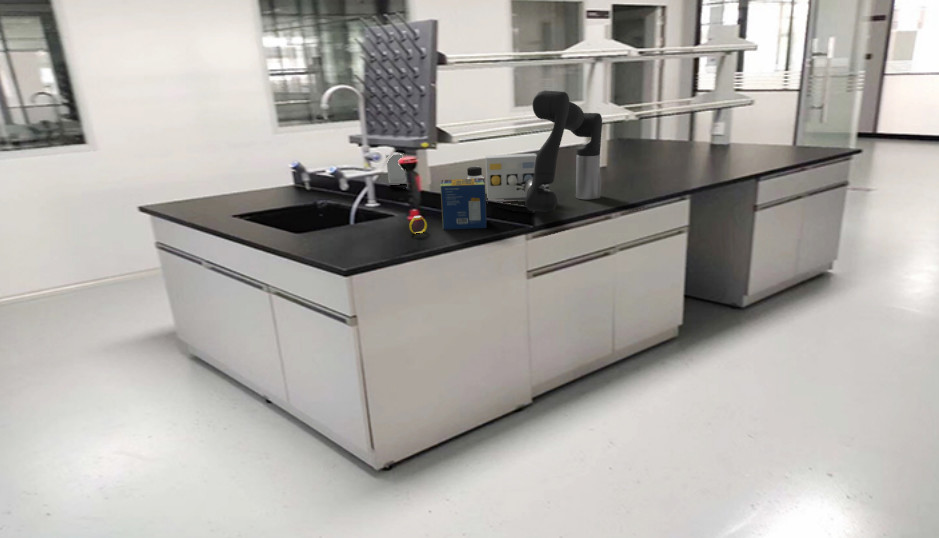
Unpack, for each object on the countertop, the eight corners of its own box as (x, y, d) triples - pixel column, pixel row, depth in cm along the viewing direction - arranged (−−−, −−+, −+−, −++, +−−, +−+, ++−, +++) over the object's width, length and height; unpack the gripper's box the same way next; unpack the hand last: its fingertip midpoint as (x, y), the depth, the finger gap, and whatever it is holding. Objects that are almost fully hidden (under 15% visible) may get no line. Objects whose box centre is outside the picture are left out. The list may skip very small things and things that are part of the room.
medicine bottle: (482, 197, 258) (481, 168, 254) (465, 197, 259) (464, 168, 255) (485, 193, 264) (484, 165, 260) (468, 193, 266) (467, 165, 262)
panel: (535, 197, 253) (535, 153, 247) (537, 200, 247) (537, 155, 241) (487, 199, 253) (485, 155, 247) (487, 203, 247) (486, 158, 241)
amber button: (499, 182, 248) (499, 173, 247) (500, 185, 244) (500, 176, 243) (490, 183, 248) (490, 174, 247) (491, 185, 244) (491, 176, 243)
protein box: (443, 222, 222) (441, 179, 217) (486, 220, 222) (484, 177, 217) (442, 230, 212) (439, 185, 207) (487, 228, 212) (485, 183, 207)
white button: (516, 183, 246) (516, 174, 245) (517, 185, 242) (517, 176, 241) (507, 183, 246) (507, 174, 245) (508, 185, 242) (508, 176, 241)
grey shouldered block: (405, 182, 293) (403, 151, 288) (407, 185, 288) (404, 153, 283) (388, 184, 292) (385, 153, 287) (389, 186, 286) (386, 154, 281)
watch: (412, 236, 207) (410, 219, 205) (409, 234, 210) (407, 217, 208) (428, 232, 210) (426, 215, 208) (425, 230, 212) (423, 213, 210)
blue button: (532, 182, 246) (532, 173, 245) (533, 184, 242) (533, 175, 241) (523, 182, 246) (523, 173, 245) (524, 185, 242) (524, 175, 241)
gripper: (553, 179, 222) (546, 170, 238) (516, 181, 222) (512, 172, 238) (553, 199, 224) (546, 189, 241) (517, 201, 224) (513, 191, 241)
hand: (529, 181), depth 239 cm, fingers closed
